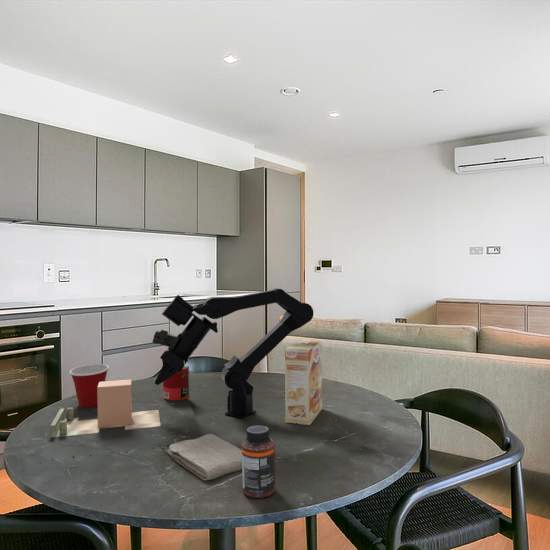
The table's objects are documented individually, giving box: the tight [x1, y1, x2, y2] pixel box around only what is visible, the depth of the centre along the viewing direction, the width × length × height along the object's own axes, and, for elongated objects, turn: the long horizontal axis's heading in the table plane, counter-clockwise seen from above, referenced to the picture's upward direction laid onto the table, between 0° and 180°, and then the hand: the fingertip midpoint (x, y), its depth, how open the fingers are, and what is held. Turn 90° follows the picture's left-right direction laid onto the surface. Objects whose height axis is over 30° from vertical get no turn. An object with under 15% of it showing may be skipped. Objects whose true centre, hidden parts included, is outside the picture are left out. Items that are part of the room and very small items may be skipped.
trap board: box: [50, 407, 161, 439], centre depth 115 cm, size 25×14×4 cm, turn 107°
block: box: [97, 379, 133, 427], centre depth 116 cm, size 8×6×10 cm
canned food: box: [162, 363, 190, 401], centre depth 139 cm, size 8×8×11 cm
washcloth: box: [167, 433, 242, 481], centre depth 95 cm, size 12×18×3 cm, turn 40°
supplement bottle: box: [241, 425, 276, 499], centre depth 81 cm, size 6×6×11 cm
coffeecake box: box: [284, 340, 323, 426], centre depth 123 cm, size 15×7×20 cm, turn 161°
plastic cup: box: [69, 363, 110, 408], centre depth 132 cm, size 11×11×12 cm
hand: (156, 384), depth 120 cm, fingers closed
